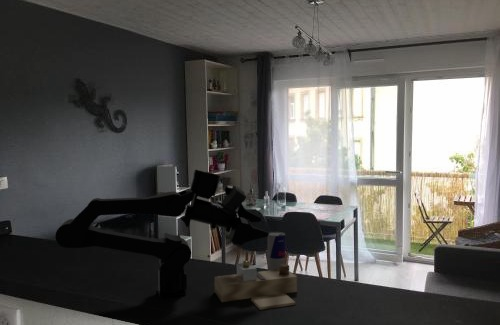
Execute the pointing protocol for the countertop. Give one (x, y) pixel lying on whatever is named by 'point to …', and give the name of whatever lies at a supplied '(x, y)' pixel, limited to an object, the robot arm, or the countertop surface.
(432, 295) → the countertop surface
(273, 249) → the energy drink
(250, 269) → the grey piece
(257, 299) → the flat wooden board
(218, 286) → the plane body
